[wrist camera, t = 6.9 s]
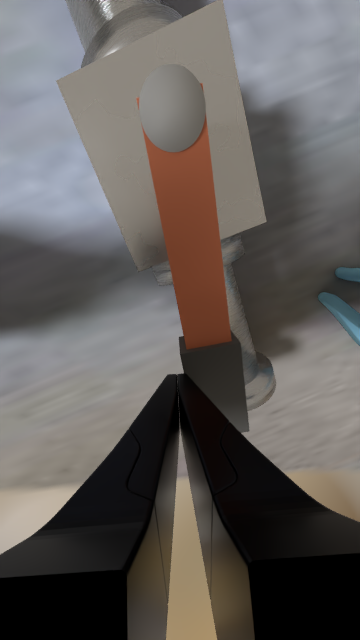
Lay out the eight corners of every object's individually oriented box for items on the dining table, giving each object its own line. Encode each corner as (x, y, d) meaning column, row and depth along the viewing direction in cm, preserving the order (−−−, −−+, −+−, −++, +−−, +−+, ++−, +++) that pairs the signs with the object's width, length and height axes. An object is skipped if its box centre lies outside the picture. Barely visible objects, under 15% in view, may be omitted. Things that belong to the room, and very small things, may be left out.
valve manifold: (196, 374, 21) (206, 431, 14) (10, -86, 11) (-259, -650, 4) (259, 353, 20) (302, 401, 13) (126, -154, 10) (34, -951, 3)
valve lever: (138, 134, 8) (118, 68, 5) (198, 120, 8) (212, 46, 5) (192, 398, 13) (198, 440, 10) (231, 391, 12) (249, 431, 10)
